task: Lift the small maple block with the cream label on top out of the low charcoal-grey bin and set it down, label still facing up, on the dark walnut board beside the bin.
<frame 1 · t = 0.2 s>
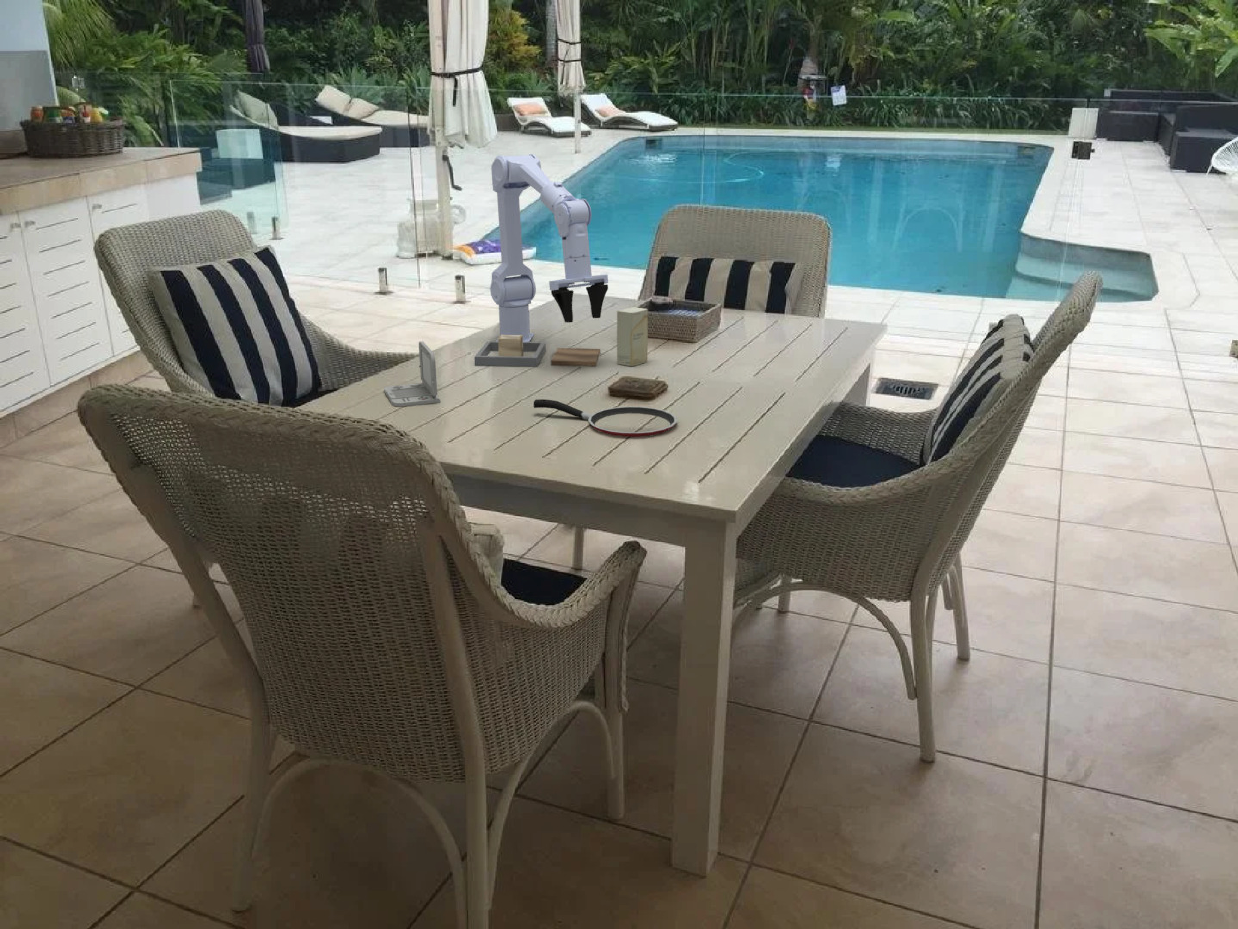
hand: (582, 320, 232), 11 cm above the table, fingers open, 7 cm apart
walnut board: (576, 358, 242), on the table
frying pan: (603, 424, 198), on the table
grey bin: (511, 357, 243), on the table
skincare box: (632, 363, 238), on the table
maple block: (511, 358, 243), resting in grey bin
handheld gaming console: (411, 397, 213), on the table
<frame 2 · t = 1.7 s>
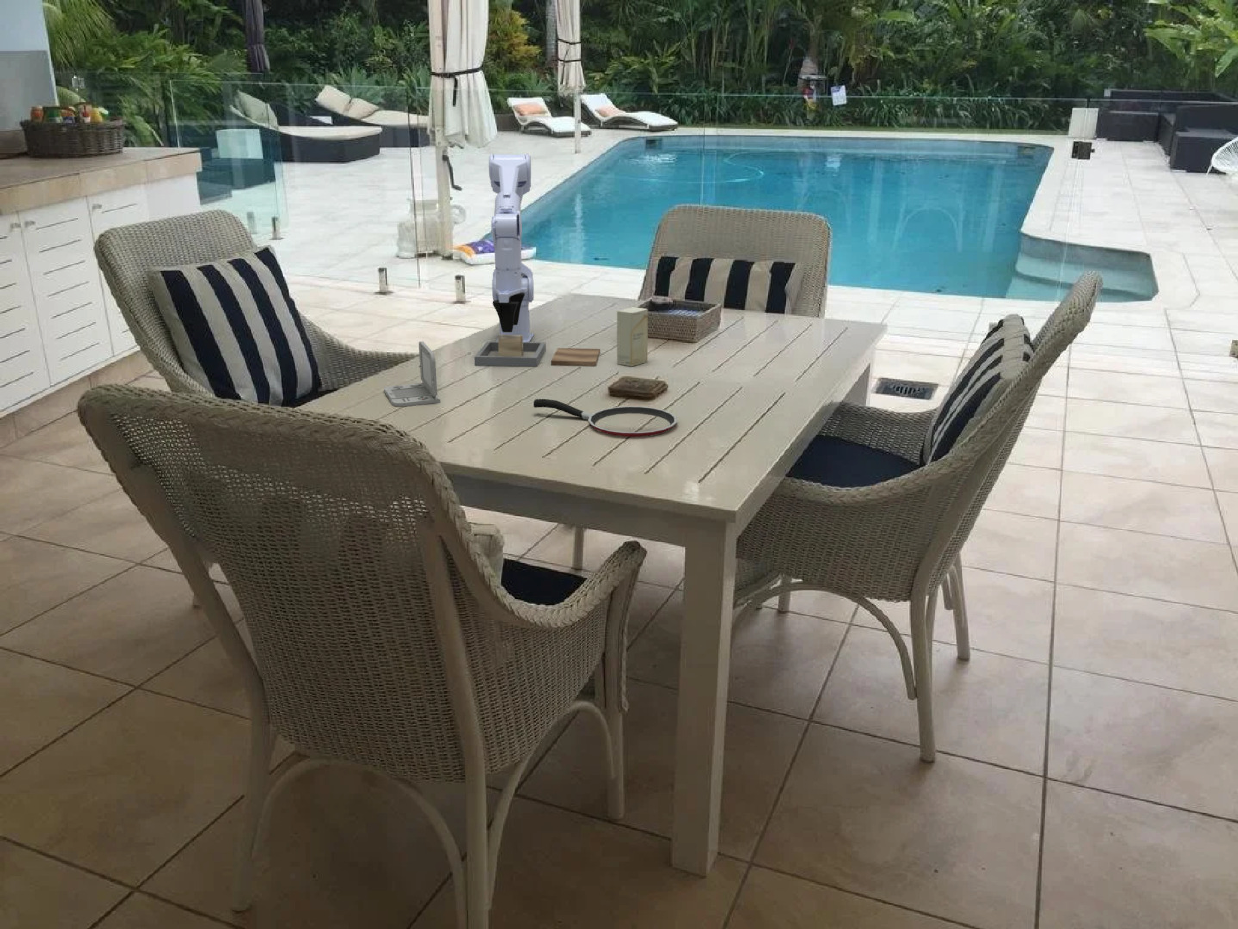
hand: (510, 328, 240), 7 cm above the table, fingers open, 7 cm apart
nothing on the table moved.
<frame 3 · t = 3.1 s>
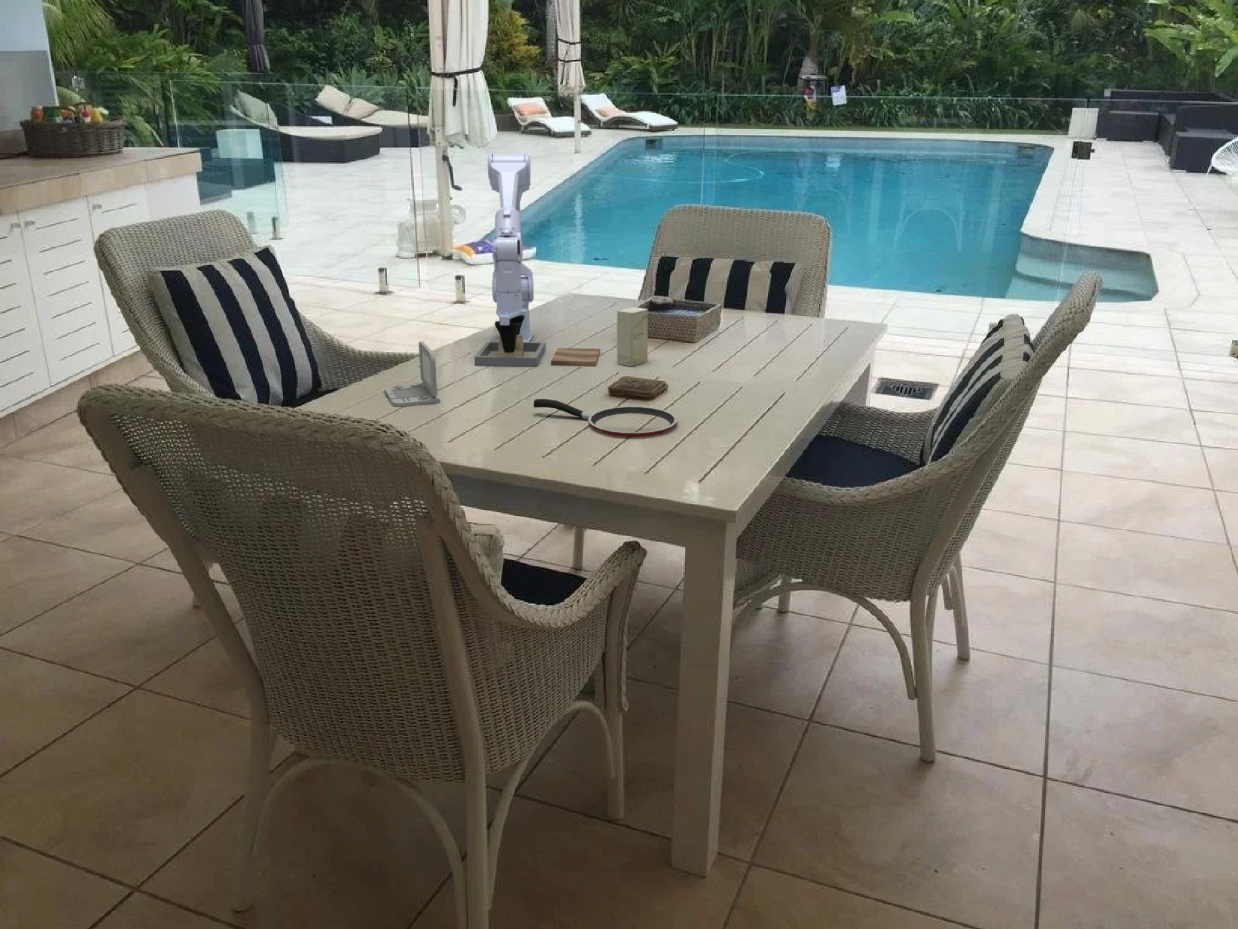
hand: (510, 349, 242), 2 cm above the table, fingers closed on maple block, 4 cm apart
maple block: (511, 357, 243), resting in grey bin, touching gripper
everything else where it was.
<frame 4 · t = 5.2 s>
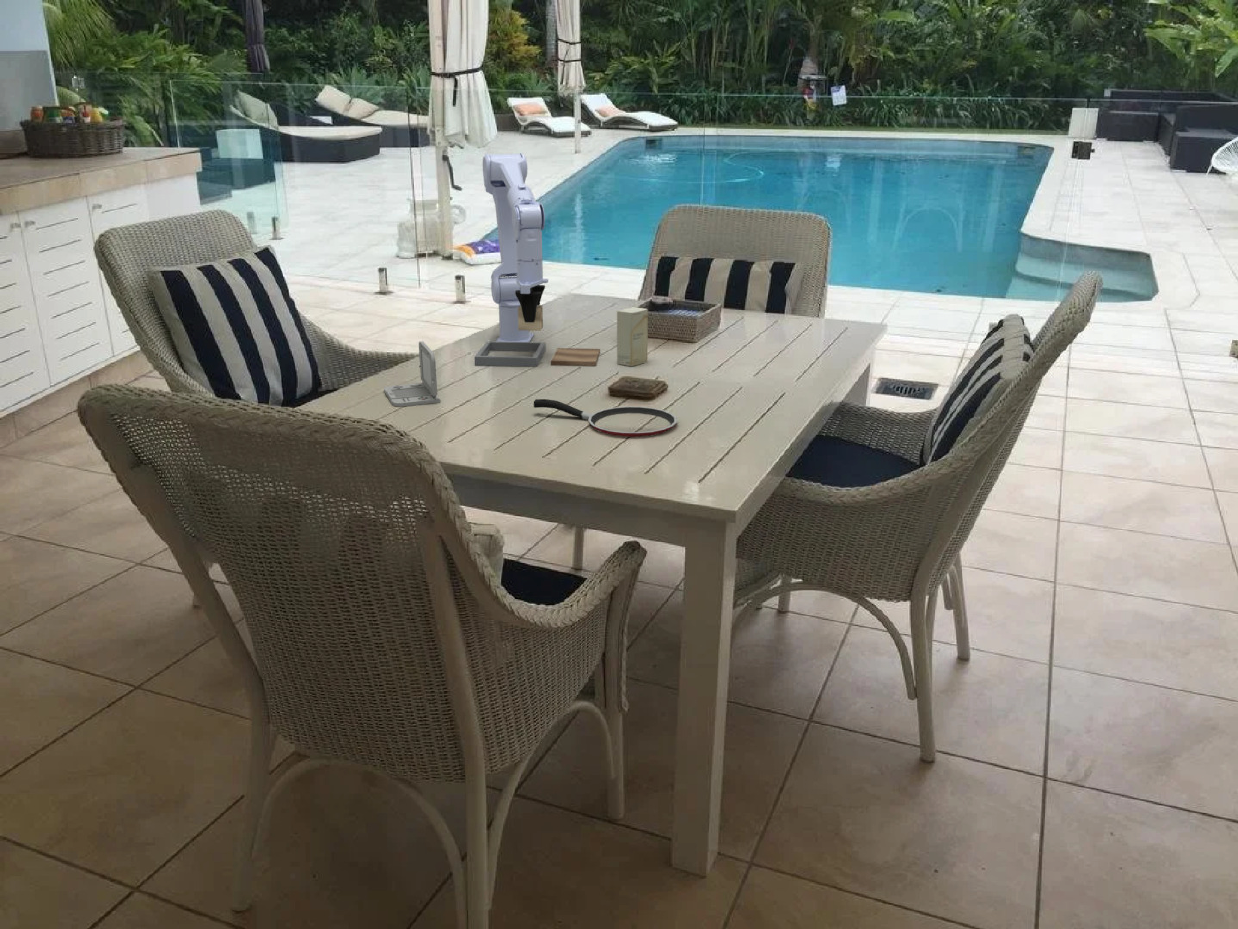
hand: (531, 319, 239), 9 cm above the table, fingers closed on maple block, 4 cm apart
maple block: (530, 328, 240), point 7 cm above the table, touching gripper
everything else where it was.
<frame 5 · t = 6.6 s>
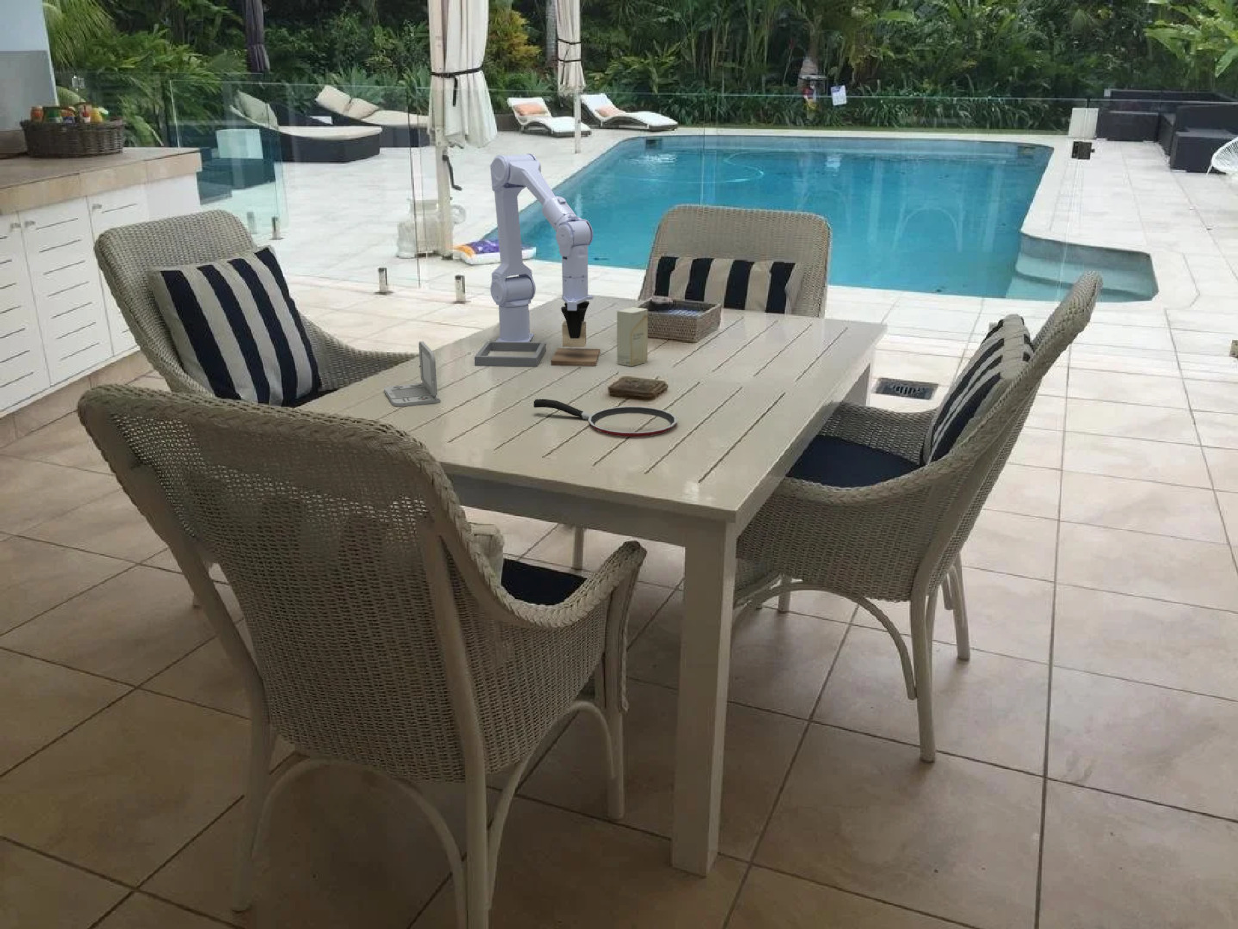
hand: (575, 335, 240), 5 cm above the table, fingers closed on maple block, 4 cm apart
maple block: (574, 344, 240), point 3 cm above the table, touching gripper
everything else where it was.
when the fingers open (4 cm above the table, at t = 7.6 s): maple block drops 1 cm, resting on walnut board.
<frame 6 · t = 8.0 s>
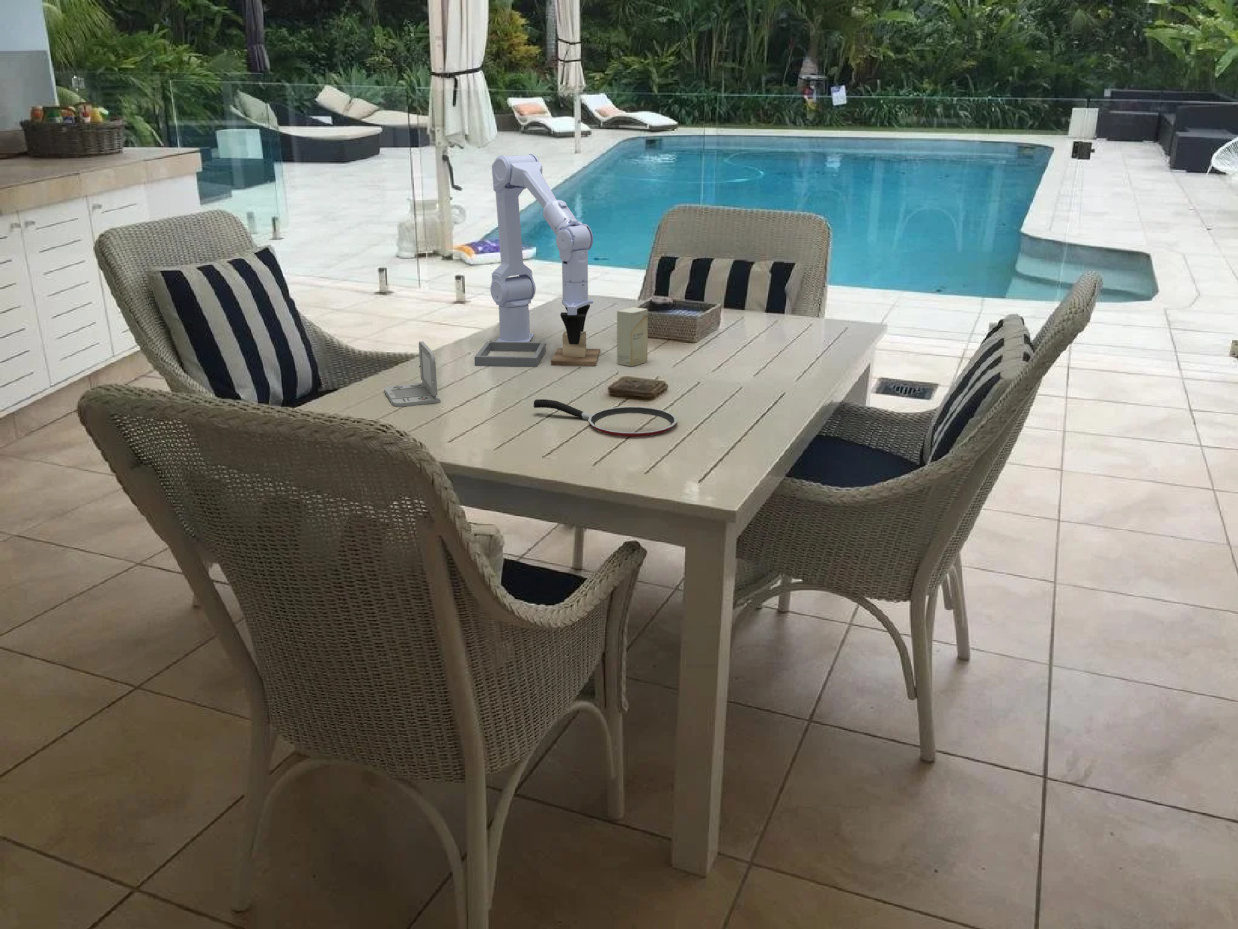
hand: (575, 340, 240), 4 cm above the table, fingers open, 7 cm apart
maple block: (574, 354, 241), point 1 cm above the table, touching walnut board
everything else where it was.
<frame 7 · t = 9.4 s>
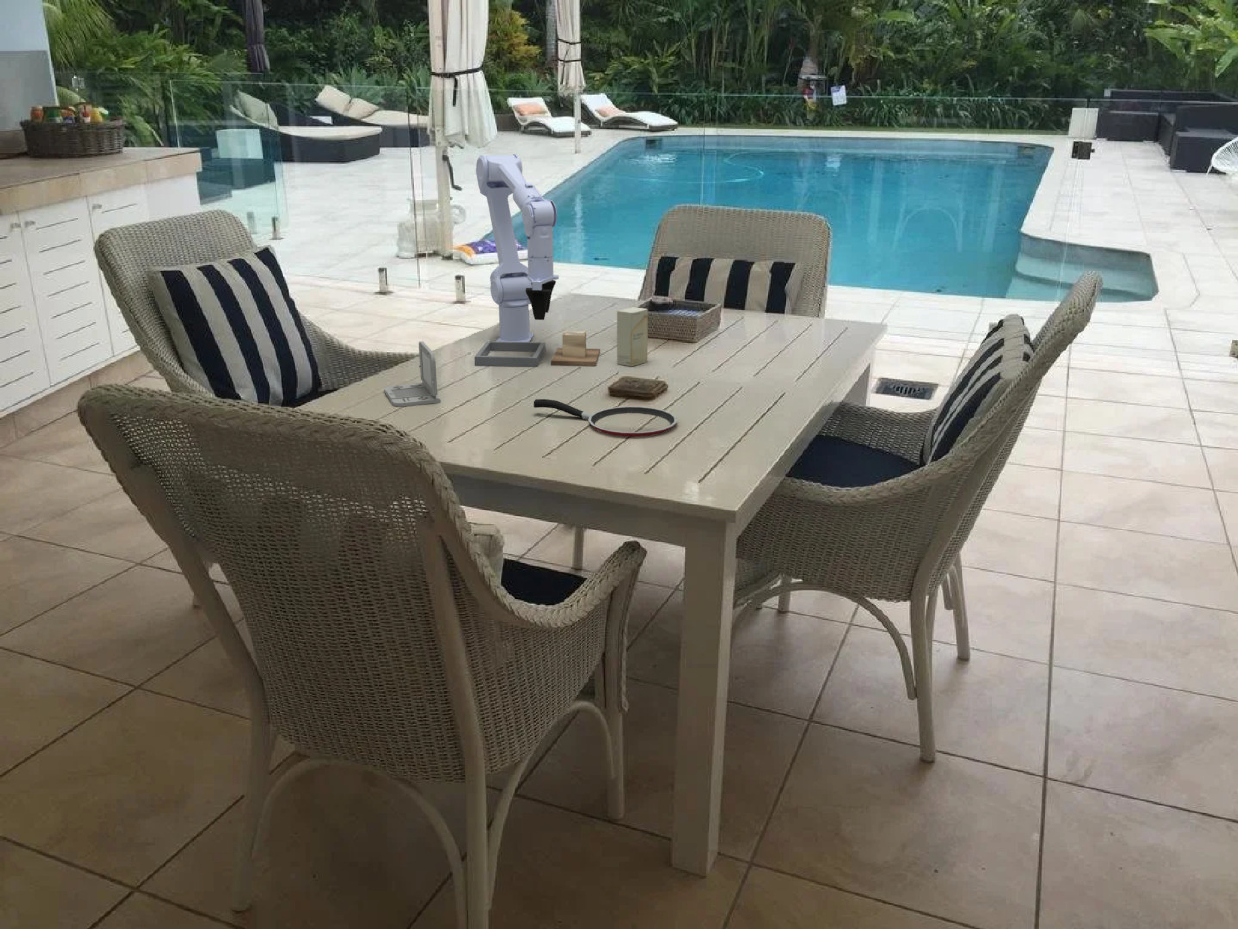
hand: (541, 315, 241), 9 cm above the table, fingers open, 7 cm apart
nothing on the table moved.
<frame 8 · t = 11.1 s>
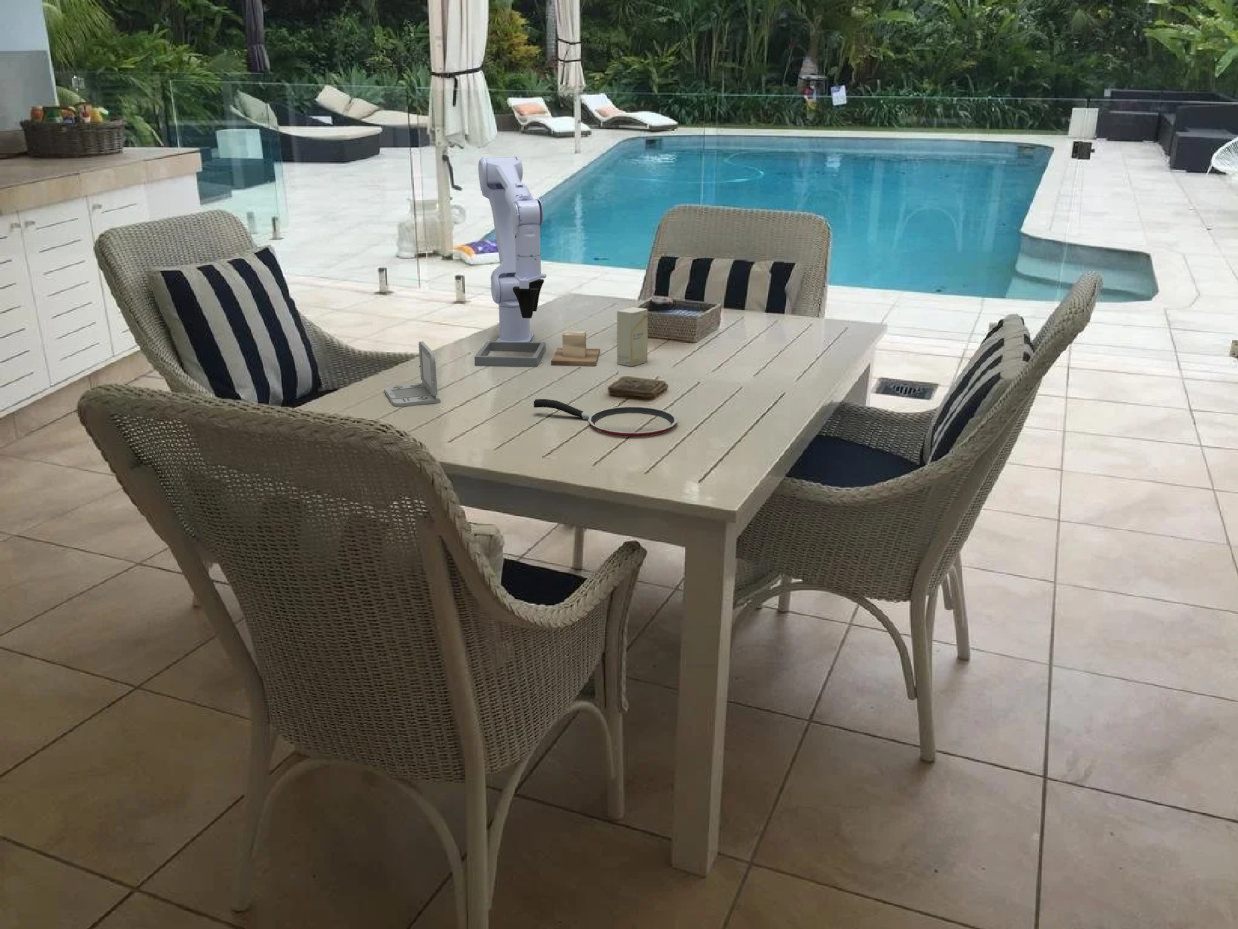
hand: (529, 314, 242), 9 cm above the table, fingers open, 7 cm apart
nothing on the table moved.
at the end: maple block inside the target area (0.3 cm from its centre), point 1.0 cm above the table; maple block tilted 0°; the gripper is holding nothing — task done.
